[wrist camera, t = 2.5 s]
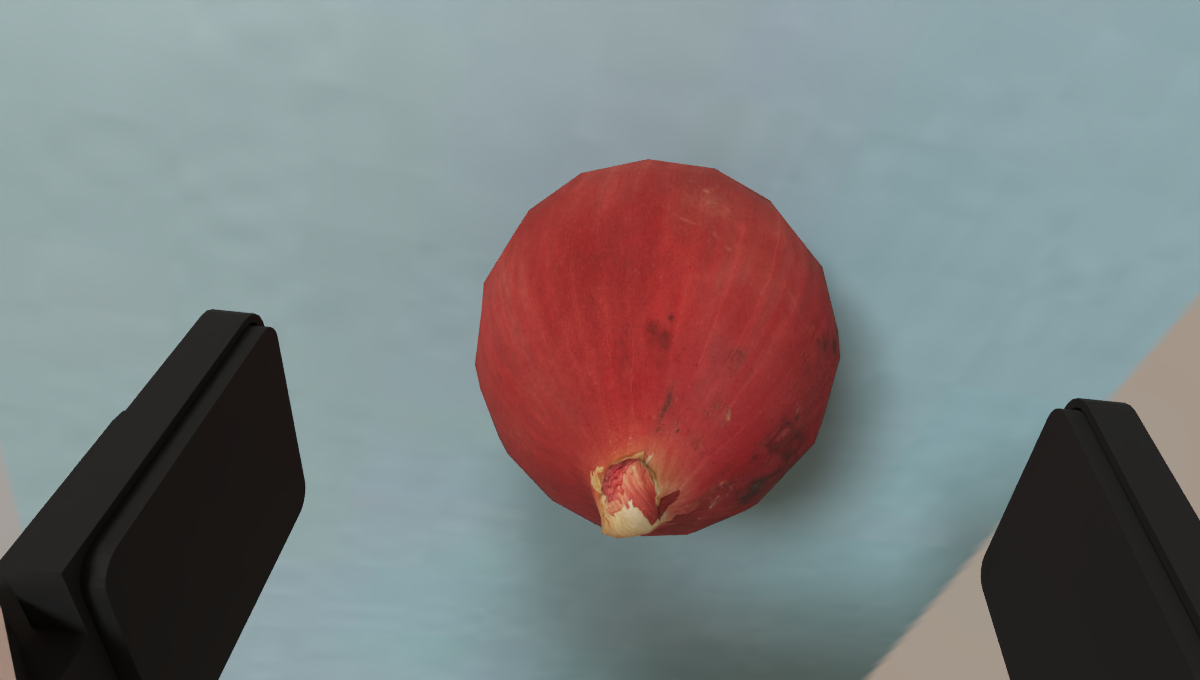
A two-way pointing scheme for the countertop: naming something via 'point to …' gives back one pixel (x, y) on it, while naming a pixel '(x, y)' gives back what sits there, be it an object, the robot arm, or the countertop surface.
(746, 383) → the onion
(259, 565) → the robot arm
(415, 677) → the countertop surface
